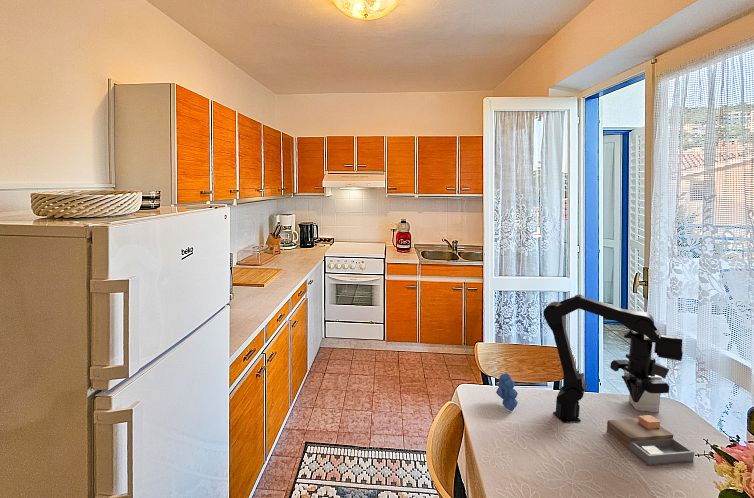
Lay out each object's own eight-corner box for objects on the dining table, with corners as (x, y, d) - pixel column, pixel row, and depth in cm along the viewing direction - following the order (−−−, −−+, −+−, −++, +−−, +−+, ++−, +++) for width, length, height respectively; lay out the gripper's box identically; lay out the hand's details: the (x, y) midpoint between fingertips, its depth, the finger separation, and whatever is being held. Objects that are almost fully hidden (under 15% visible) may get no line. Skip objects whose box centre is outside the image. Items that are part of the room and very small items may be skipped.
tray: (648, 466, 117) (649, 455, 117) (629, 450, 124) (630, 441, 124) (693, 462, 119) (694, 452, 118) (672, 447, 126) (673, 437, 126)
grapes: (488, 400, 154) (489, 369, 153) (505, 399, 156) (507, 368, 154) (502, 416, 143) (504, 382, 142) (521, 415, 144) (523, 381, 143)
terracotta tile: (647, 428, 129) (648, 422, 129) (638, 421, 133) (638, 415, 132) (659, 427, 129) (660, 421, 129) (649, 421, 133) (650, 415, 133)
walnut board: (629, 450, 124) (630, 437, 124) (606, 432, 134) (607, 420, 133) (672, 447, 126) (673, 434, 125) (646, 429, 136) (647, 417, 135)
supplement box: (659, 412, 147) (662, 377, 145) (636, 410, 148) (639, 375, 147) (650, 402, 154) (653, 369, 152) (628, 400, 155) (630, 367, 154)
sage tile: (641, 446, 122) (640, 452, 122) (651, 454, 118) (650, 461, 118) (654, 445, 122) (653, 452, 122) (664, 453, 118) (664, 460, 118)
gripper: (689, 365, 121) (683, 416, 123) (643, 342, 139) (639, 387, 141) (653, 365, 120) (647, 417, 122) (611, 343, 138) (607, 388, 140)
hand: (635, 401), depth 131 cm, fingers closed
